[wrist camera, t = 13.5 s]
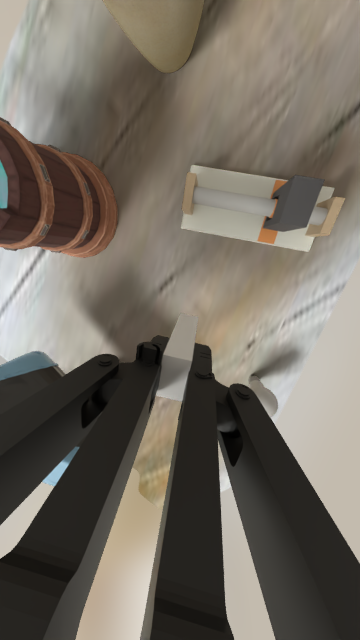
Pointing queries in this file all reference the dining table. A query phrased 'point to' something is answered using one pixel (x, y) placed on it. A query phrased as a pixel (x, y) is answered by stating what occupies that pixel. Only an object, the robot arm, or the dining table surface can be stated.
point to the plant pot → (159, 28)
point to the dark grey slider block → (294, 203)
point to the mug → (52, 199)
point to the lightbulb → (264, 395)
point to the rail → (240, 218)
